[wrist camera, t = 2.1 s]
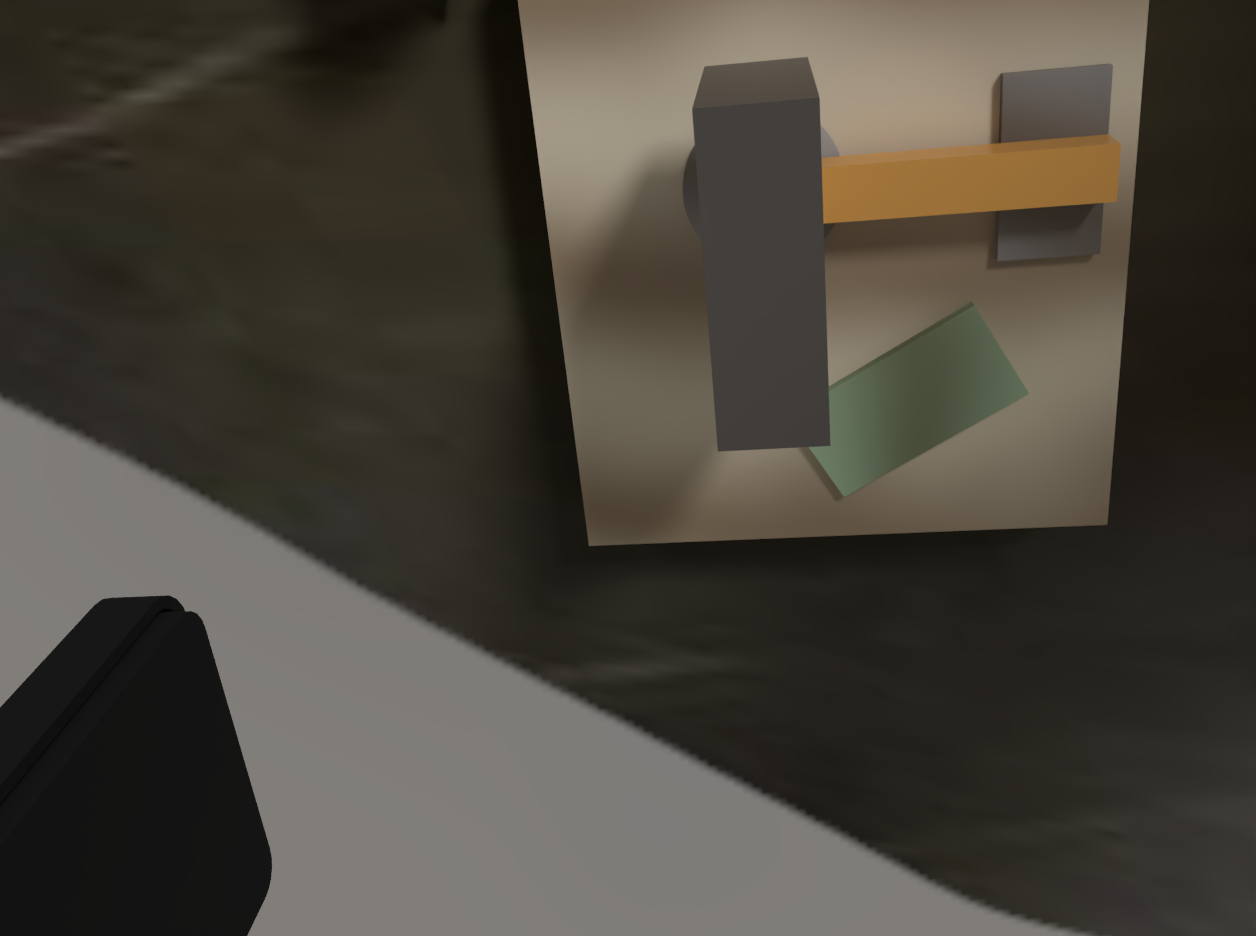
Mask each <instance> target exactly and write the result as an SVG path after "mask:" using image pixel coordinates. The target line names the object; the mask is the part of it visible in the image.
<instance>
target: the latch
mask: <svg viewBox="0 0 1256 936" xmlns="http://www.w3.org/2000/svg"><path fill="white" fill-rule="evenodd" d="M692 115H693V129H694V142H695V155H696V168H697V182H698V195H699V208H700V221H701V235H702V248H703V261H704V274H705V288H706V301H707V314H708V327H709V341H710V354H711V367H712V381H713V394H714V407H715V420H716V434H717V447H718V452H720V451H740V450H759V449H779V448H799V447H819V446H830V414H829V382H828V350H827V318H826V286H825V254H824V224H825V223H838V222H852V221H865V220H879V219H892V218H906V217H919V216H933V215H946V214H959V213H973V212H986V211H1000V210H1013V209H1027V208H1040V207H1054V206H1067V205H1081V204H1094V203H1108V202H1117V193H1118V180H1119V166H1120V153H1121V143H1120V142H1118V141H1117V140H1116V139H1114V138H1113V137H1111V136H1110V135H1109V134H1106V135H1094V136H1082V137H1070V138H1057V139H1045V140H1033V141H1020V142H1008V143H996V144H984V145H971V146H959V147H947V148H934V149H922V150H910V151H898V152H885V153H873V154H861V155H848V156H836V157H824V158H821V125H820V97H819V94H818V90H817V87H816V84H815V80H814V77H813V73H812V70H811V67H810V63H809V60H808V57H801V58H790V59H779V60H768V61H757V62H746V63H736V64H725V65H714V66H704V70H703V73H702V77H701V80H700V83H699V87H698V90H697V94H696V97H695V100H694V104H693V107H692Z"/></svg>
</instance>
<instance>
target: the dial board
mask: <svg viewBox="0 0 1256 936" xmlns="http://www.w3.org/2000/svg"><path fill="white" fill-rule="evenodd" d="M518 7H519V15H520V22H521V30H522V38H523V45H524V53H525V61H526V68H527V76H528V84H529V91H530V99H531V107H532V114H533V122H534V129H535V137H536V145H537V152H538V160H539V168H540V175H541V183H542V191H543V198H544V206H545V214H546V221H547V229H548V236H549V244H550V252H551V259H552V267H553V275H554V282H555V290H556V298H557V305H558V313H559V321H560V328H561V336H562V344H563V351H564V359H565V366H566V374H567V382H568V389H569V397H570V405H571V412H572V420H573V428H574V435H575V443H576V451H577V458H578V466H579V474H580V481H581V489H582V496H583V504H584V512H585V519H586V527H587V535H588V542H589V546H600V545H624V544H649V543H673V542H698V541H723V540H747V539H772V538H796V537H821V536H846V535H870V534H895V533H919V532H944V531H969V530H993V529H1018V528H1042V527H1067V526H1092V525H1107V524H1108V511H1109V498H1110V486H1111V473H1112V461H1113V448H1114V436H1115V423H1116V410H1117V398H1118V385H1119V373H1120V360H1121V348H1122V335H1123V322H1124V310H1125V297H1126V285H1127V272H1128V260H1129V247H1130V234H1131V222H1132V209H1133V197H1134V184H1135V172H1136V159H1137V146H1138V134H1139V121H1140V109H1141V96H1142V84H1143V71H1144V58H1145V46H1146V33H1147V21H1148V8H1149V0H518ZM801 57H808V60H809V63H810V67H811V70H812V73H813V77H814V80H815V84H816V87H817V90H818V94H819V97H820V125H821V158H824V157H836V156H848V155H861V154H873V153H885V152H898V151H910V150H922V149H934V148H947V147H959V146H971V145H984V144H996V143H1008V142H1020V141H1033V140H1045V139H1057V138H1070V137H1082V136H1094V135H1106V134H1109V135H1110V136H1111V137H1113V138H1114V139H1116V140H1117V141H1118V142H1120V143H1121V153H1120V166H1119V180H1118V193H1117V202H1108V203H1094V204H1081V205H1067V206H1054V207H1040V208H1027V209H1013V210H1000V211H986V212H973V213H959V214H946V215H933V216H919V217H906V218H892V219H879V220H865V221H852V222H838V223H825V224H824V254H825V286H826V318H827V350H828V382H829V414H830V446H819V447H799V448H779V449H759V450H740V451H720V452H718V447H717V434H716V420H715V407H714V394H713V381H712V367H711V354H710V341H709V327H708V314H707V301H706V288H705V274H704V261H703V248H702V235H701V221H700V208H699V195H698V182H697V168H696V155H695V142H694V129H693V115H692V107H693V104H694V100H695V97H696V94H697V90H698V87H699V83H700V80H701V77H702V73H703V70H704V66H714V65H725V64H736V63H746V62H757V61H768V60H779V59H790V58H801Z"/></svg>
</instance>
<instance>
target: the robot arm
mask: <svg viewBox="0 0 1256 936" xmlns="http://www.w3.org/2000/svg"><path fill="white" fill-rule="evenodd" d="M271 870H272V858H271V853H270V847H269V844H268V840H267V837H266V834H265V830H264V827H263V823H262V820H261V817H260V813H259V810H258V807H257V803H256V800H255V796H254V793H253V790H252V786H251V782H250V779H249V776H248V772H247V769H246V766H245V762H244V759H243V755H242V752H241V748H240V745H239V742H238V738H237V735H236V731H235V728H234V725H233V721H232V718H231V714H230V711H229V707H228V704H227V700H226V697H225V694H224V690H223V687H222V683H221V680H220V677H219V673H218V670H217V666H216V663H215V659H214V657H213V653H212V649H211V646H210V642H209V639H208V636H207V632H206V629H205V626H204V624H203V621H202V619H201V618H200V617H199V616H198V614H196V613H194V612H192V611H190V612H185V610H184V608H183V606H182V605H181V604H180V603H179V601H178V600H177V599H175V598H173V597H171V596H147V597H122V598H108V599H103V600H101V601H100V602H98V603H97V604H96V605H94V607H93V608H92V609H91V610H90V611H89V612H88V613H87V614H86V615H85V616H84V617H83V618H82V620H81V621H80V622H79V623H78V624H77V625H76V626H75V627H74V629H72V630H71V631H70V632H69V634H68V635H67V636H66V637H65V638H64V639H63V640H62V641H61V642H60V643H59V644H58V645H57V647H56V648H55V649H54V650H53V651H52V652H51V653H50V654H49V655H48V656H47V658H46V659H45V660H44V661H43V662H42V663H41V664H40V665H39V666H38V667H37V668H36V669H35V671H34V672H33V673H32V674H31V675H30V676H29V677H28V678H27V679H26V680H25V681H24V682H23V683H22V685H21V686H20V687H19V688H18V689H17V690H16V691H15V692H14V694H12V695H11V697H10V698H9V699H8V700H7V701H6V702H5V703H4V704H3V705H2V706H1V707H0V936H247V935H248V932H249V931H250V928H251V926H252V924H253V922H254V920H255V918H256V916H257V914H258V912H259V910H260V908H261V906H262V904H263V902H264V900H265V897H266V895H267V892H268V889H269V885H270V880H271V872H272V871H271Z"/></svg>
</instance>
